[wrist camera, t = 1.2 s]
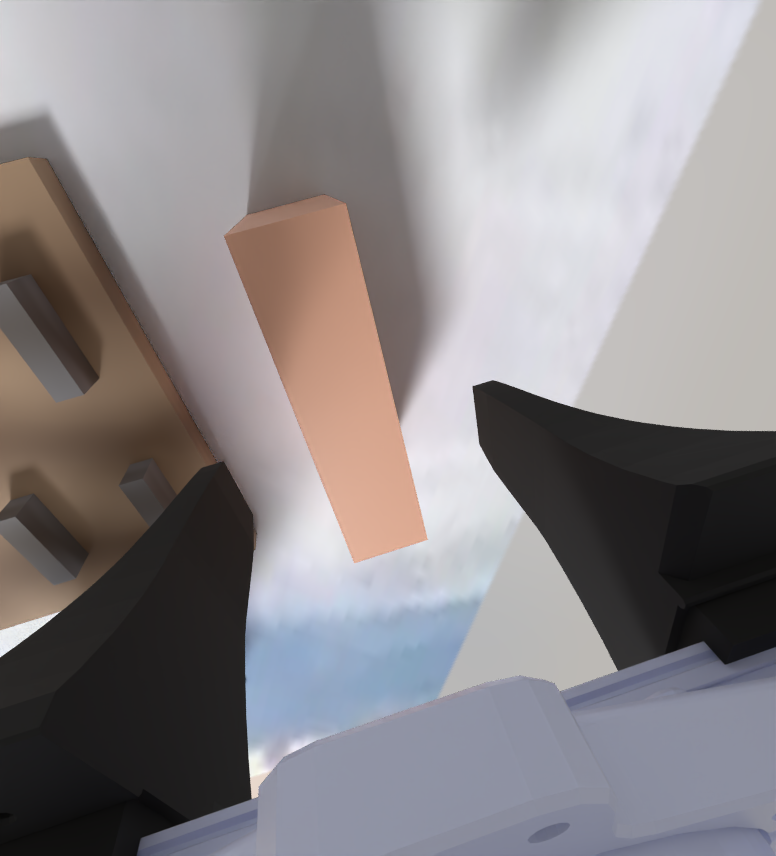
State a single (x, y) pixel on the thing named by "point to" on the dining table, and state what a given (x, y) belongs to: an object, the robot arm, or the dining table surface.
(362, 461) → the door panel
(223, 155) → the dining table surface
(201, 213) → the dining table surface
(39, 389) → the cabinet side board
